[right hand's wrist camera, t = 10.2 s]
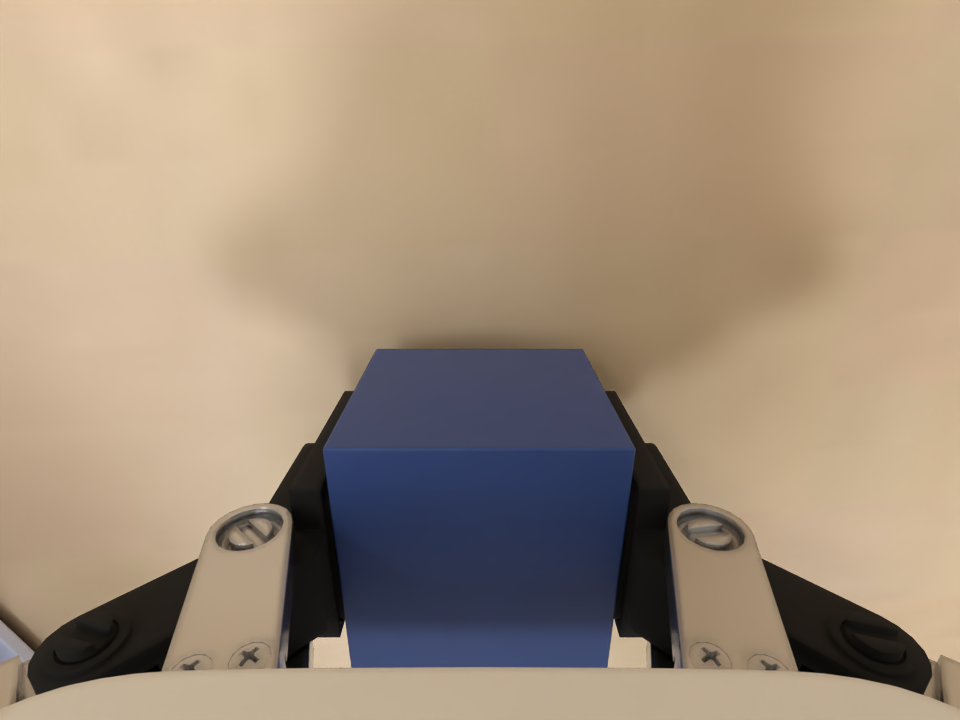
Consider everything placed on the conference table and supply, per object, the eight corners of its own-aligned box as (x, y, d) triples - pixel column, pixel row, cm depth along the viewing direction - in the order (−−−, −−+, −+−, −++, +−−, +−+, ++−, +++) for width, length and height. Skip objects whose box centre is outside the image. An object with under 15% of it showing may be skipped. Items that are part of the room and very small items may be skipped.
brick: (389, 520, 14) (351, 674, 10) (375, 348, 12) (321, 448, 8) (569, 520, 14) (607, 674, 10) (583, 348, 12) (637, 449, 8)
